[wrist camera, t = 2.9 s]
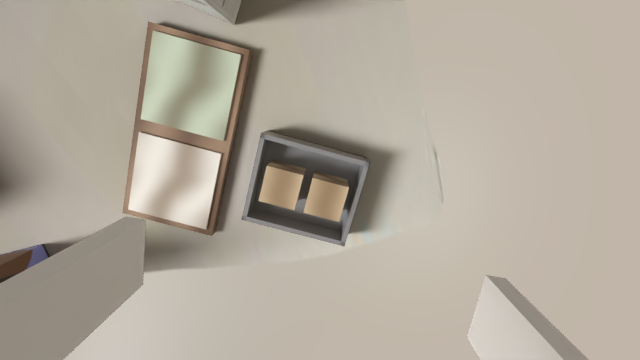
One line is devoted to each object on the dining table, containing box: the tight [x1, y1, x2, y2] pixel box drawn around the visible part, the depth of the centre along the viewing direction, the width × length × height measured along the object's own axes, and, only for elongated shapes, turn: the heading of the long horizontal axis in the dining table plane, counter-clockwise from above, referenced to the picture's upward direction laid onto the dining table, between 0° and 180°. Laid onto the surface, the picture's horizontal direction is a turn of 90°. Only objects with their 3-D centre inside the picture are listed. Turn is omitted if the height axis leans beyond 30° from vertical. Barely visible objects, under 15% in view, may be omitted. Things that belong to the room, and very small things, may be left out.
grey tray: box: [242, 131, 370, 246], centre depth 38 cm, size 12×10×4 cm
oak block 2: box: [303, 171, 349, 222], centre depth 37 cm, size 4×4×4 cm
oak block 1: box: [259, 160, 306, 210], centre depth 37 cm, size 4×4×4 cm
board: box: [123, 22, 252, 236], centre depth 38 cm, size 11×22×2 cm, turn 165°
